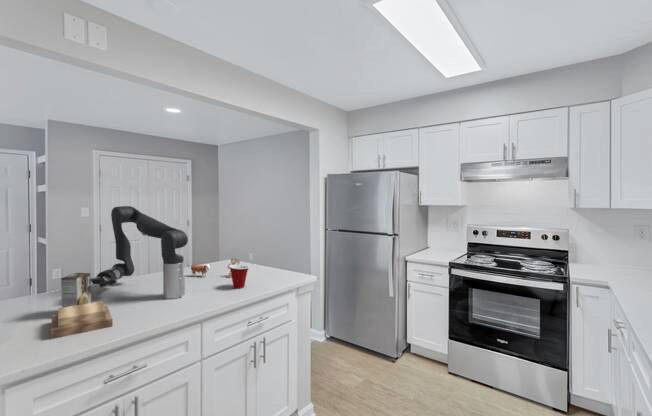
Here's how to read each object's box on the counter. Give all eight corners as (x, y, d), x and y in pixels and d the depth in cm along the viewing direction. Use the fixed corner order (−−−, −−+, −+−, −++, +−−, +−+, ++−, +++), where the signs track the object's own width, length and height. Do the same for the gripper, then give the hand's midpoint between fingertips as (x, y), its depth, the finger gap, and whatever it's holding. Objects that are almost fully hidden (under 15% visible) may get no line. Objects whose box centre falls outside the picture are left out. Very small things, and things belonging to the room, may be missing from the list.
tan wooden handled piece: (228, 278, 197) (228, 259, 197) (225, 277, 200) (225, 258, 200) (241, 275, 204) (241, 257, 204) (238, 274, 207) (238, 256, 206)
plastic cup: (252, 288, 177) (252, 266, 177) (232, 291, 171) (233, 268, 170) (245, 283, 186) (245, 263, 186) (226, 286, 180) (226, 265, 179)
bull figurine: (208, 278, 197) (209, 265, 197) (189, 276, 200) (189, 263, 200) (212, 276, 201) (212, 263, 201) (193, 275, 204) (193, 262, 204)
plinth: (107, 312, 136) (107, 299, 136) (112, 326, 123) (112, 311, 122) (52, 322, 125) (52, 307, 125) (50, 339, 111) (50, 322, 111)
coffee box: (76, 308, 141) (75, 272, 141) (91, 308, 142) (91, 272, 141) (60, 316, 132) (60, 277, 132) (77, 316, 133) (76, 277, 132)
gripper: (93, 269, 162) (73, 277, 146) (123, 269, 164) (107, 277, 148) (93, 284, 162) (73, 294, 146) (123, 283, 165) (107, 293, 149)
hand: (90, 285), depth 147 cm, fingers open, 8 cm apart
